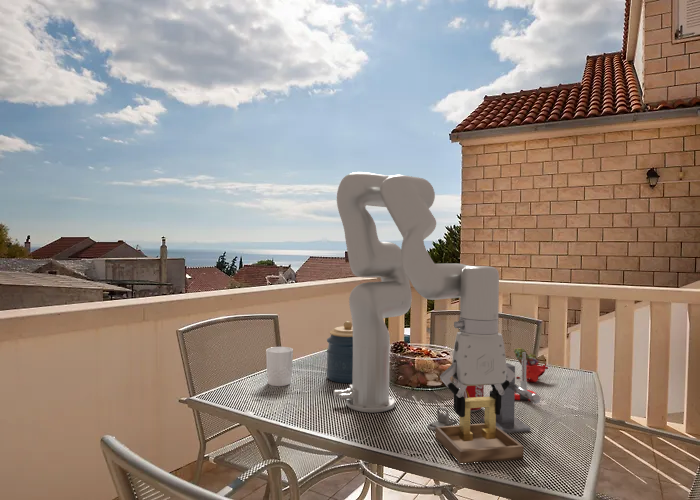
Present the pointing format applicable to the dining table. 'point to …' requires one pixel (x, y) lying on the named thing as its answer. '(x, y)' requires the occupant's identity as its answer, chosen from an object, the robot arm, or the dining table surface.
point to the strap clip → (441, 419)
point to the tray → (479, 445)
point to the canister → (340, 354)
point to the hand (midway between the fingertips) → (477, 413)
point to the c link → (490, 418)
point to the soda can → (474, 394)
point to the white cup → (279, 365)
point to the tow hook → (523, 381)
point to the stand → (512, 407)
